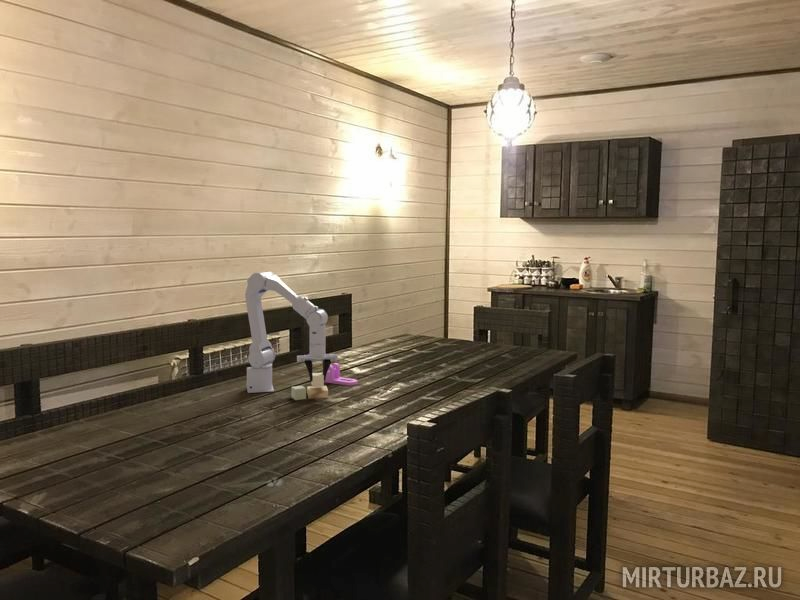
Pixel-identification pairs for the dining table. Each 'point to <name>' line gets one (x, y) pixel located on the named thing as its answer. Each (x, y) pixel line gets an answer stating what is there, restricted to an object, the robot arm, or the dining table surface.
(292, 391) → the sage cube
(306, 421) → the dining table surface
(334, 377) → the bracket
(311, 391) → the oak slab
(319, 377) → the cream cube
